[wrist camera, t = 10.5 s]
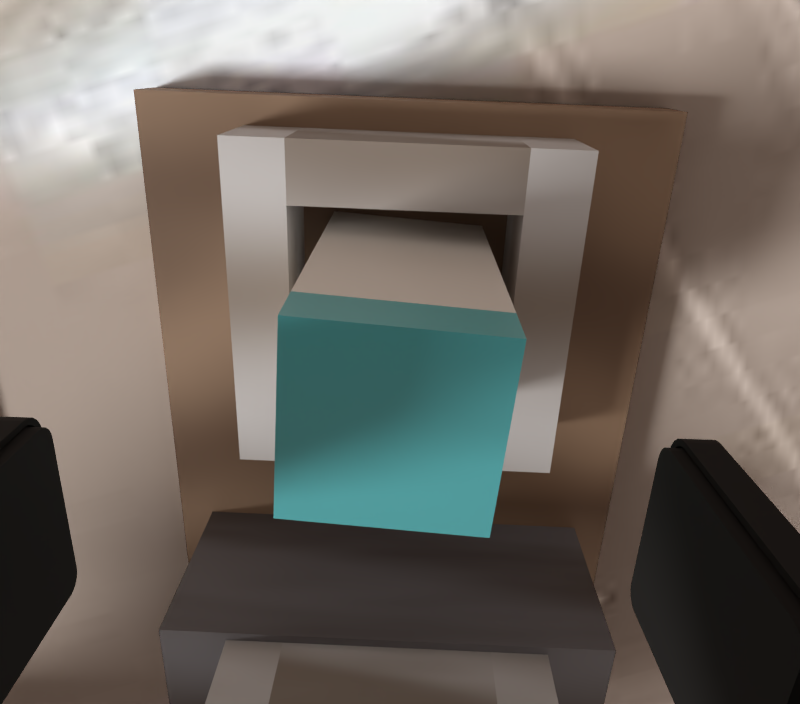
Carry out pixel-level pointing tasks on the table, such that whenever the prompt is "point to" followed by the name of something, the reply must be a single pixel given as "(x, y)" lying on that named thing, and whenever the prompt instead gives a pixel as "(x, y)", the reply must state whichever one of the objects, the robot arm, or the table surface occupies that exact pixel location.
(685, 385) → the table surface
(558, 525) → the socket console
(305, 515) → the plug block
